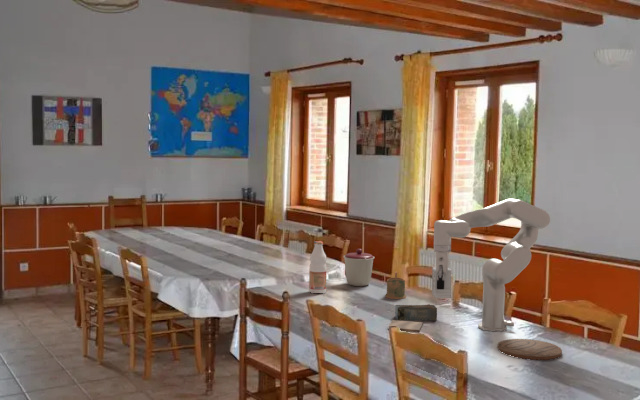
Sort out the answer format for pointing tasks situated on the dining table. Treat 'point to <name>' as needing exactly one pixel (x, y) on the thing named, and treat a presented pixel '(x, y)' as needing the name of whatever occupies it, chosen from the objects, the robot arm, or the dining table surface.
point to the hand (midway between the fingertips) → (441, 287)
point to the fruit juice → (317, 269)
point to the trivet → (530, 349)
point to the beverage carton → (415, 312)
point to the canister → (358, 268)
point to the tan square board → (407, 325)
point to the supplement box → (447, 284)
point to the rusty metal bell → (395, 288)
